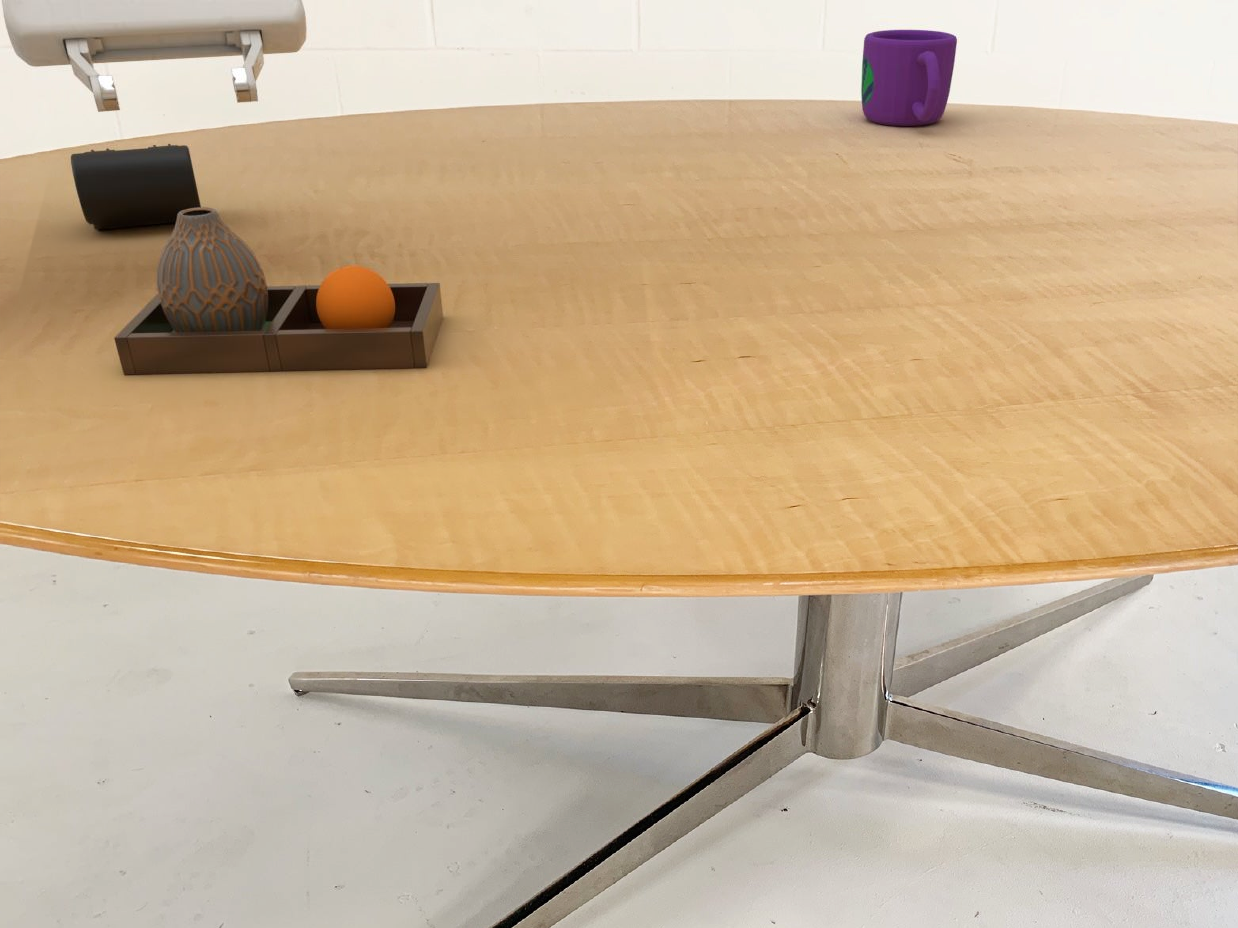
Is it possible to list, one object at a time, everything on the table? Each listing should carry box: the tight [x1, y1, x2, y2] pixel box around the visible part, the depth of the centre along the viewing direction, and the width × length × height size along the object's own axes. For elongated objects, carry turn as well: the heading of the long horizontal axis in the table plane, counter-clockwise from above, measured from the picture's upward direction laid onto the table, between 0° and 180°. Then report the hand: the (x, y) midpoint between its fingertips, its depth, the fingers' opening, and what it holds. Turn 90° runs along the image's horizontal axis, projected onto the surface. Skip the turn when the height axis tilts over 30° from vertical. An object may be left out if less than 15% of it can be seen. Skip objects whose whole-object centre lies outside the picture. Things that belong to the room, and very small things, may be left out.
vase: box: [156, 206, 268, 332], centre depth 78 cm, size 7×7×9 cm
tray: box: [114, 282, 444, 377], centre depth 80 cm, size 20×10×3 cm, turn 93°
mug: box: [860, 29, 958, 127], centre depth 145 cm, size 17×11×10 cm, turn 6°
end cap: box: [70, 143, 202, 231], centre depth 108 cm, size 10×7×7 cm
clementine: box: [316, 265, 395, 329], centre depth 79 cm, size 5×5×5 cm
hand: (178, 101), depth 83 cm, fingers open, 8 cm apart
